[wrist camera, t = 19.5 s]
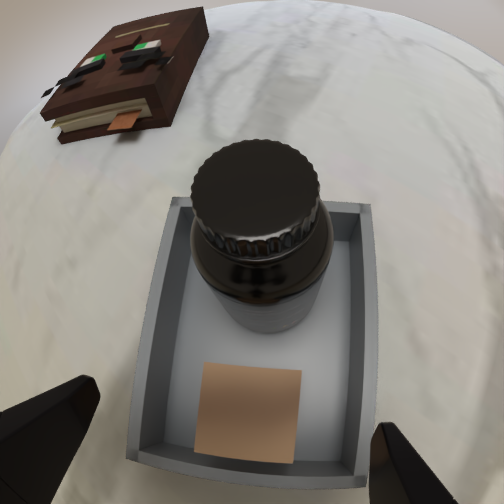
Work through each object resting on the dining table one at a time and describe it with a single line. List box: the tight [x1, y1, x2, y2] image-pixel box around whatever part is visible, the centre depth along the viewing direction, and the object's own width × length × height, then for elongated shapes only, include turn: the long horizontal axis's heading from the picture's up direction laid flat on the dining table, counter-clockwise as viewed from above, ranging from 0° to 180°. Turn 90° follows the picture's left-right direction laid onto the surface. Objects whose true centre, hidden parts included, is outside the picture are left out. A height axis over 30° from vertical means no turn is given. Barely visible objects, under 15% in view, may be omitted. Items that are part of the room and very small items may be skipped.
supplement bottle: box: [190, 139, 334, 333], centre depth 16 cm, size 7×7×12 cm
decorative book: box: [40, 7, 209, 144], centre depth 35 cm, size 19×8×30 cm
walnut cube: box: [194, 362, 302, 463], centre depth 16 cm, size 5×5×5 cm
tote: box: [126, 197, 378, 489], centre depth 19 cm, size 18×14×5 cm
